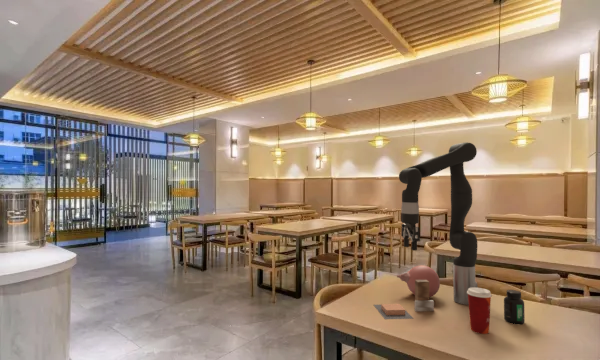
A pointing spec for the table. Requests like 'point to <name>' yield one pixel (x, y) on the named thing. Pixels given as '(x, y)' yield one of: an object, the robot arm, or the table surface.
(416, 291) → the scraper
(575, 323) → the table surface
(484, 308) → the coffee cup
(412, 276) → the pink rounded piece
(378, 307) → the mat
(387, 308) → the tile
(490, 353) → the table surface
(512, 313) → the supplement bottle
